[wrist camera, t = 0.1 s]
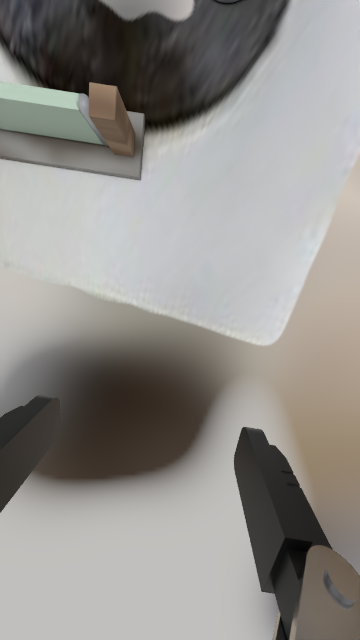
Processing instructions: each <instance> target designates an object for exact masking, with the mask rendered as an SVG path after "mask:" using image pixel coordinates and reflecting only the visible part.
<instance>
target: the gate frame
mask: <svg viewBox="0 0 360 640" xmlns="http://www.w3.org/2000/svg"><path fill="white" fill-rule="evenodd" d="M89 117H90V119H91V120H92V122H93V123H94V125H95V126H96V128H97V129H98V131H99V132H100V134H101V135H102V137H103V138H104V140H105V141H106V143H107V144H108V146H106V145H104V144H103V145H102V144H95V143H89V142H83V141H76V140H70V139H63V138H57V137H50V136H44V135H37V134H31V133H24V132H18V131H11V130H5V129H0V158H2V159H8V160H15V161H21V162H28V163H34V164H41V165H47V166H53V167H60V168H66V169H73V170H79V171H86V172H92V173H99V174H105V175H112V176H118V177H125V178H131V179H138V180H140V177H141V165H142V153H143V141H144V129H145V116H144V114H141V113H135V112H129V111H126V109H125V106H124V104H123V101H122V99H121V96H120V94H119V91H118V89H117V87H116V86H109V85H103V84H96V83H90V82H89Z"/></svg>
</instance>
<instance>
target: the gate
mask: <svg viewBox="0 0 360 640" xmlns="http://www.w3.org/2000/svg"><path fill="white" fill-rule="evenodd" d="M0 129H5V130H11V131H18V132H24V133H31V134H37V135H44V136H50V137H57V138H63V139H70V140H76V141H83V142H89V143H95V144H102V145H103V144H104V145H106V146H108V144H107V143H106V141H105V140H104V138H103V137H102V135H101V134H100V132H99V131H98V129H97V128H96V126H95V125H94V123H93V122H92V120H91V119H90V117H89V98H88V96H87V95H85V94H78V93H72V92H65V91H59V90H52V89H46V88H39V87H33V86H26V85H20V84H13V83H7V82H0Z"/></svg>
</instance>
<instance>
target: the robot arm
mask: <svg viewBox="0 0 360 640" xmlns="http://www.w3.org/2000/svg"><path fill="white" fill-rule="evenodd" d="M217 1H220V2H223V3H232V2H236V1H239V0H217ZM59 430H60V402H59V399H58V398H56V397H50V396H43V395H38V396H36V397H35V398H34V399H32V400H31V401H30V402H29V403H28V404H27V405H25V406H20V407H18V408H16V409H14V410H12V411H10V412H8V413H6V414H4V415H3V416H2V417H1V418H0V512H1V511H2V510H3V509H4V507H5V506H6V505H7V503H8V502H9V501H10V499H11V498H12V497H13V495H14V494H15V493H16V491H17V490H18V489H19V488H20V486H21V485H22V484H23V482H24V481H25V480H26V478H27V477H28V476H29V474H30V473H31V472H32V470H33V469H34V468H35V467H36V465H37V464H38V463H39V461H40V460H41V459H42V457H43V456H44V455H45V454H46V452H47V451H48V450H49V448H50V447H51V446H52V444H53V443H54V441H55V440H56V438H57V436H58V433H59ZM234 469H235V475H236V478H237V483H238V487H239V492H240V497H241V501H242V506H243V510H244V515H245V519H246V523H247V528H248V532H249V537H250V542H251V546H252V550H253V555H254V559H255V564H256V568H257V573H258V577H259V581H260V586H261V591H262V592H267V593H274V594H275V596H276V600H277V604H278V607H279V612H278V616H277V620H276V625H275V630H274V634H273V640H360V575H359V574H358V572H357V571H356V570H355V569H354V568H353V566H352V565H351V564H350V563H349V562H348V561H347V560H346V559H344V558H343V557H342V556H341V555H340V554H338V553H337V552H335V551H334V550H333V549H332V547H331V546H330V544H329V542H328V540H327V538H326V536H325V534H324V532H323V530H322V528H321V526H320V524H319V522H318V520H317V518H316V516H315V514H314V512H313V510H312V508H311V506H310V504H309V503H308V501H307V499H306V497H305V495H304V493H303V491H302V489H301V488H300V487H299V486H300V485H299V483H298V481H297V479H296V477H295V475H293V471H292V469H291V467H290V465H289V463H288V461H287V459H286V458H285V456H284V455H283V454H282V453H281V452H280V451H279V450H278V448H277V447H276V446H274V445H269V443H268V441H267V439H266V436H265V434H264V432H263V431H262V430H260V429H254V428H248V427H243V428H242V430H241V433H240V437H239V441H238V444H237V448H236V452H235V455H234Z"/></svg>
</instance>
